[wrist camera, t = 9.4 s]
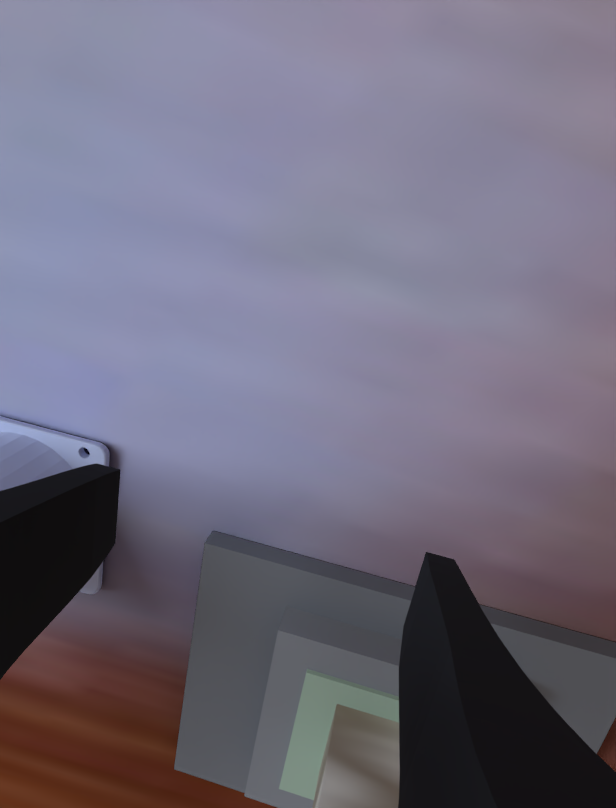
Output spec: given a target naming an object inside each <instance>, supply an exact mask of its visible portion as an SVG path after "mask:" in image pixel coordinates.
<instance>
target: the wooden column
mask: <svg viewBox="0 0 616 808" xmlns="http://www.w3.org/2000/svg"><path fill="white" fill-rule="evenodd" d="M399 780H400V757H399V722H395V721H392V720H389V719H386V718H382V717H379V716H376V715H372V714H369V713H366V712H363V711H359V710H356V709H353V708H349V707H346V706H343V705H340V704H337V705H336V709H335V713H334V717H333V721H332V724H331V728H330V732H329V736H328V740H327V744H326V748H325V751H324V755H323V759H322V763H321V767H320V771H319V776H318V781H317V786H316V792H315V797H314V802H313V808H398V804H399Z"/></svg>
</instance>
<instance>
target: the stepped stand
mask: <svg viewBox="0 0 616 808" xmlns="http://www.w3.org/2000/svg"><path fill="white" fill-rule="evenodd" d="M414 590H415V587H414V586H411V585H407V584H403V583H400V582H396V581H393V580H389V579H385V578H382V577H378V576H375V575H371V574H367V573H364V572H360V571H357V570H353V569H349V568H346V567H342V566H339V565H335V564H331V563H328V562H324V561H320V560H317V559H313V558H310V557H306V556H302V555H299V554H295V553H292V552H288V551H284V550H281V549H277V548H274V547H270V546H266V545H263V544H259V543H256V542H252V541H248V540H245V539H241V538H238V537H234V536H230V535H227V534H223V533H220V532H216V531H212V533H211V534H210V536H209V537H208V539H207V540H206V542H205V544H204V552H203V559H202V567H201V574H200V581H199V589H198V596H197V603H196V611H195V618H194V626H193V633H192V640H191V648H190V655H189V662H188V670H187V677H186V685H185V692H184V699H183V707H182V714H181V721H180V729H179V736H178V743H177V751H176V758H175V766H174V769H175V770H178V771H181V772H184V773H187V774H190V775H193V776H196V777H199V778H202V779H205V780H208V781H211V782H214V783H217V784H220V785H223V786H226V787H229V788H232V789H235V790H237V791H240V792H243V793H245V795H244V796H245V797H248V798H251V799H254V800H257V801H260V802H263V803H266V804H269V805H272V806H275V807H278V808H313V802H314V797H315V792H316V786H317V781H318V776H319V771H320V767H321V763H322V759H323V755H324V751H325V748H326V744H327V740H328V736H329V732H330V728H331V724H332V721H333V717H334V713H335V709H336V705H337V704H340V705H343V706H346V707H349V708H353V709H356V710H359V711H363V712H366V713H369V714H372V715H376V716H379V717H382V718H386V719H389V720H392V721H395V722H399V662H400V652H401V643H402V635H403V626H404V623H405V620H406V616H407V613H408V610H409V606H410V603H411V600H412V597H413V593H414ZM480 607H481V609H482V610H483V612H484V614H485V615H486V617H487V619H488V620H489V622H490V623H491V625H492V627H493V628H494V630H495V632H496V633H497V635H498V636H499V638H500V639H501V641H502V642H503V644H504V645H505V647H506V648H507V649H508V651H509V652H510V654H511V655H512V657H513V658H514V659H515V661H516V662H517V664H518V665H519V666H520V668H521V669H522V670H523V672H524V673H525V674H526V676H527V677H528V678H529V679H530V681H531V682H532V683H533V684H534V686H535V687H536V688H537V689H538V690H539V692H540V693H541V694H542V695H543V696H544V698H545V699H546V700H547V701H548V703H549V704H550V705H551V706H552V707H553V708H554V710H555V711H556V712H557V713H558V714H559V715H560V716H561V717H562V718H563V720H564V721H565V722H566V723H567V724H568V725H569V726H570V727H571V728H572V729H573V730H574V731H575V732H576V733H577V734H578V735H579V736H580V737H581V738H582V740H583V741H584V742H585V743H586V744H587V745H588V746H589V747H590V748H591V749H592V750H593V751H594V752H595V753H596V754H597V752H598V750H599V749H600V747H601V745H602V743H603V741H604V739H605V737H606V735H607V733H608V731H609V729H610V727H611V725H612V723H613V721H614V719H615V717H616V642H612V641H609V640H605V639H601V638H598V637H594V636H591V635H587V634H583V633H580V632H576V631H573V630H569V629H565V628H562V627H558V626H555V625H551V624H547V623H544V622H540V621H537V620H533V619H529V618H526V617H522V616H519V615H515V614H511V613H508V612H504V611H501V610H497V609H493V608H490V607H486V606H483V605H480Z"/></svg>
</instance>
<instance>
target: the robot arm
mask: <svg viewBox="0 0 616 808" xmlns="http://www.w3.org/2000/svg"><path fill="white" fill-rule="evenodd" d="M84 448H86V449H88V451H89V453H90V455H88V454H86V452H85V451H84ZM109 458H110V454H109V450H108V448H107V447H106V446H105V445H104V444H102V443H100V442H96V441H92V440H89V439H85V438H81V437H77V436H74V435H70V434H66V433H62V432H58V431H55V430H51V429H47V428H43V427H39V426H36V425H32V424H28V423H24V422H20V421H17V420H13V419H9V418H5V417H1V416H0V679H1V678H2V677H3V675H4V674H5V673H6V672H7V670H8V669H9V668H10V667H11V666H12V664H13V663H14V662H15V661H16V660H17V658H18V657H19V656H20V655H21V654H22V653H23V652H24V650H25V649H26V648H27V647H28V646H29V645H30V644H31V643H32V642H33V641H34V640H35V639H36V637H37V636H38V635H39V634H40V633H41V632H42V631H43V630H44V629H45V628H46V627H47V626H48V625H49V623H50V622H51V621H52V620H53V619H54V618H55V617H56V616H57V615H58V614H59V613H60V612H61V611H62V609H63V608H64V607H65V606H66V605H67V604H68V603H69V602H70V601H71V600H72V599H73V597H74V596H75V595H76V594H77V593H78V592H82V593H85V594H89V595H93V594H96V593H97V592H98V591H99V590H100V588H101V586H102V574H103V561H104V559H105V558H106V556H107V555H108V553H109V552H110V550H111V549H112V547H113V546H114V544H115V538H116V523H117V509H118V494H119V479H120V470H119V469H116V468H112V467H109ZM399 757H400V780H399V804H398V808H616V772H615V771H614V770H613V769H612V768H611V767H610V766H609V765H608V764H606V763H605V762H604V761H603V760H602V759H601V758H600V757H599V756H598V755H597V754H596V753H595V752H594V751H593V750H592V749H591V748H590V747H589V746H588V745H587V744H586V743H585V742H584V741H583V740H582V738H581V737H580V736H579V735H578V734H577V733H576V732H575V731H574V730H573V729H572V728H571V727H570V726H569V725H568V724H567V723H566V722H565V721H564V720H563V718H562V717H561V716H560V715H559V714H558V713H557V712H556V711H555V710H554V708H553V707H552V706H551V705H550V704H549V703H548V701H547V700H546V699H545V698H544V696H543V695H542V694H541V693H540V692H539V690H538V689H537V688H536V687H535V686H534V684H533V683H532V682H531V681H530V679H529V678H528V677H527V676H526V674H525V673H524V672H523V670H522V669H521V668H520V666H519V665H518V664H517V662H516V661H515V659H514V658H513V657H512V655H511V654H510V652H509V651H508V649H507V648H506V647H505V645H504V644H503V642H502V641H501V639H500V638H499V636H498V635H497V633H496V632H495V630H494V628H493V627H492V625H491V623H490V622H489V620H488V619H487V617H486V615H485V614H484V612H483V610H482V609H481V607H480V605H479V603H478V602H477V600H476V598H475V596H474V595H473V593H472V591H471V589H470V587H469V585H468V584H467V582H466V580H465V578H464V576H463V574H462V573H461V571H460V569H459V567H458V565H457V564H456V562H455V560H454V559H450V558H446V557H443V556H439V555H435V554H432V553H428V552H426V554H425V557H424V560H423V564H422V567H421V570H420V574H419V577H418V580H417V583H416V587H415V590H414V593H413V597H412V600H411V603H410V606H409V610H408V613H407V616H406V620H405V623H404V626H403V635H402V643H401V652H400V662H399Z"/></svg>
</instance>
